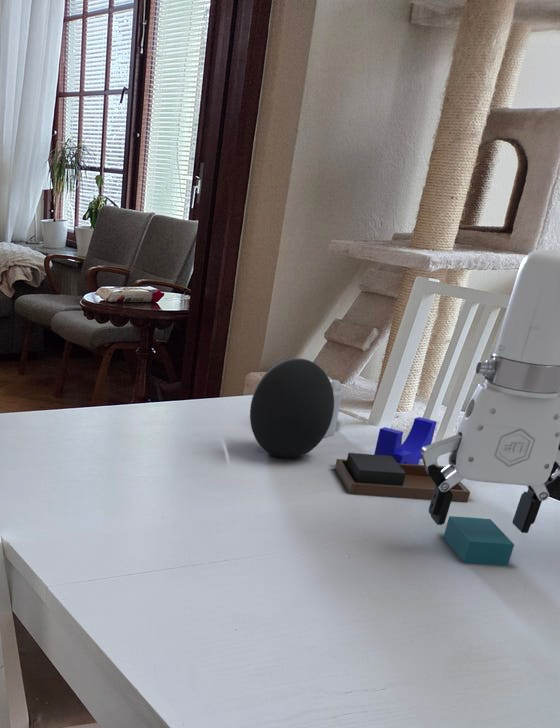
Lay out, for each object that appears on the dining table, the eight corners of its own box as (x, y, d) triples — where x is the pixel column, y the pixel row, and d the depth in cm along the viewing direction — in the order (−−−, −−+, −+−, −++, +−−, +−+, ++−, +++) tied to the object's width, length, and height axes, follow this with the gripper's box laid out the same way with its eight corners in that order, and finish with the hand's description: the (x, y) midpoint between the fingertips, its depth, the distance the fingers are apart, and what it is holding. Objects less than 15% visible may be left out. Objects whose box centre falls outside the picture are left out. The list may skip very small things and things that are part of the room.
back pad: (387, 475, 127) (392, 455, 125) (401, 493, 120) (406, 473, 118) (344, 472, 127) (348, 452, 125) (355, 490, 120) (359, 469, 118)
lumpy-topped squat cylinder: (336, 423, 153) (346, 373, 149) (332, 442, 142) (342, 389, 138) (278, 415, 156) (286, 367, 151) (269, 434, 145) (277, 382, 140)
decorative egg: (317, 448, 138) (335, 353, 131) (329, 473, 128) (349, 370, 120) (241, 443, 139) (254, 347, 132) (246, 466, 129) (261, 364, 121)
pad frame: (442, 479, 128) (446, 466, 127) (466, 505, 118) (470, 492, 117) (334, 471, 129) (336, 458, 128) (348, 497, 119) (351, 483, 118)
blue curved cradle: (397, 475, 129) (407, 435, 126) (371, 467, 131) (380, 428, 128) (436, 461, 136) (445, 423, 133) (410, 453, 139) (419, 417, 136)
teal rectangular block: (482, 545, 106) (490, 518, 104) (505, 572, 99) (514, 544, 97) (441, 542, 106) (449, 515, 104) (461, 569, 99) (470, 541, 97)
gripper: (455, 376, 89) (412, 529, 97) (623, 391, 88) (565, 544, 97) (434, 362, 95) (396, 506, 104) (591, 376, 95) (539, 520, 103)
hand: (478, 524), depth 100 cm, fingers open, 9 cm apart
